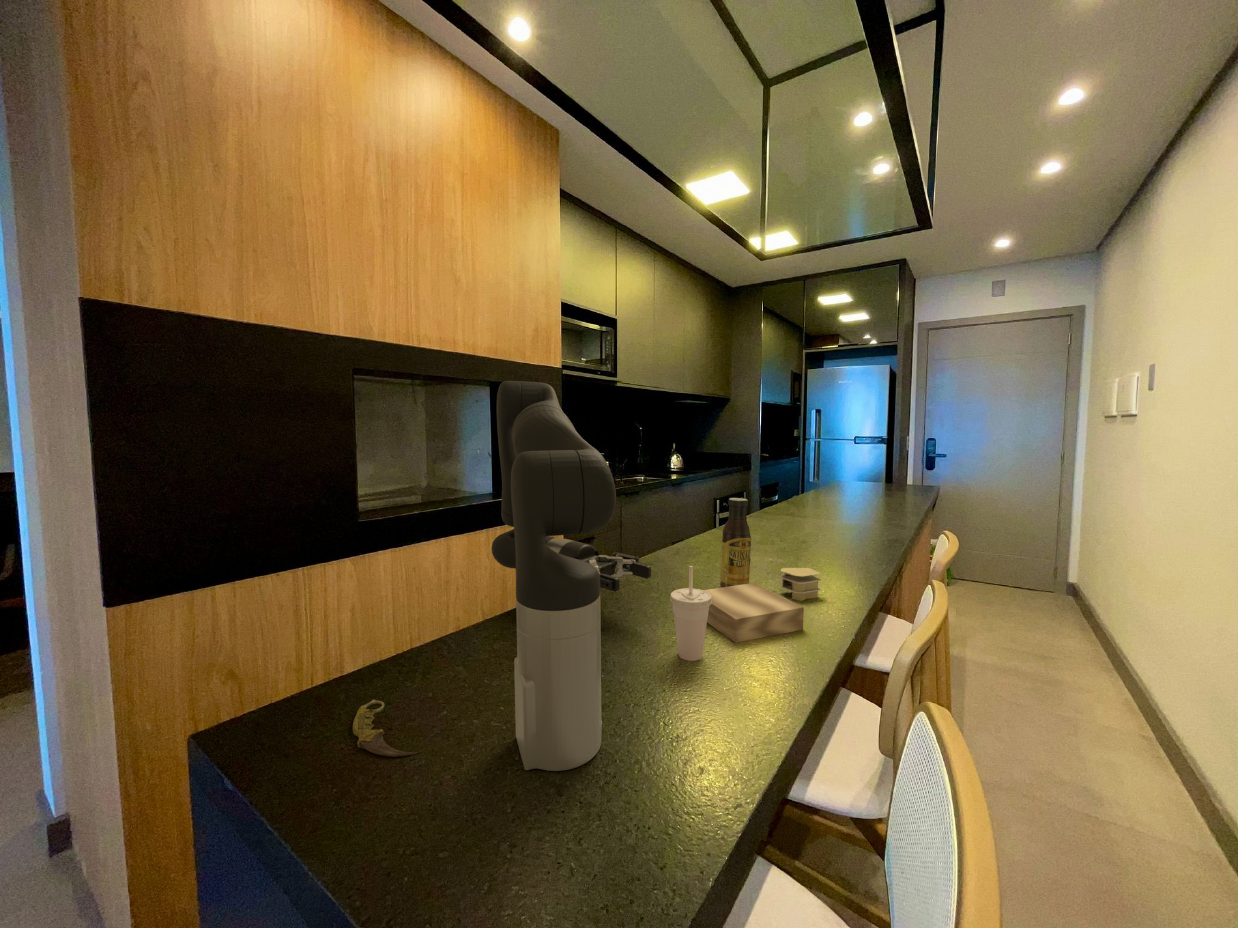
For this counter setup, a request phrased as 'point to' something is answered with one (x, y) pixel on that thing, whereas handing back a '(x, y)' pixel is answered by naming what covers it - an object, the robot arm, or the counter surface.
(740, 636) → the riser
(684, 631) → the smoothie
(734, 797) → the counter surface
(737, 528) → the sauce bottle
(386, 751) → the knife
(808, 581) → the stacked layers on plate
